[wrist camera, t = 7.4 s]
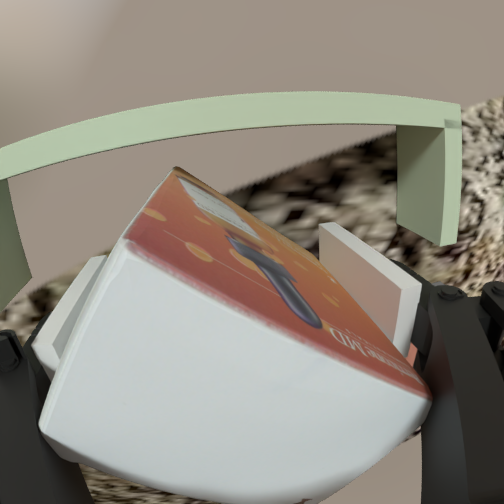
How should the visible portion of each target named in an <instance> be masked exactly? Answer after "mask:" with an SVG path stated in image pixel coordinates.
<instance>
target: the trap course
mask: <svg viewBox="0 0 504 504" xmlns="http://www.w3.org/2000/svg"><path fill="white" fill-rule="evenodd" d="M329 124H330V125H332V124H368V125H370V124H371V125H396V134H397V219H396V223H397V224H399V225H401V226H403V227H405V228H407V229H409V230H411V231H412V232H414V233H416V234H418V235H420V236H422V237H424V238H426V239H428V240H429V241H431V242H433V243H435V244H437V245H438V246H444V245H449V244H454V243H456V240H457V231H458V222H459V211H460V197H461V177H462V129H461V109H460V105H459V104H454V103H448V102H441V101H435V100H428V99H421V98H413V97H404V96H394V95H383V94H370V93H353V92H270V93H254V94H253V93H252V94H239V95H227V96H218V97H208V98H200V99H192V100H185V101H178V102H171V103H165V104H160V105H154V106H148V107H143V108H138V109H133V110H128V111H123V112H118V113H114V114H110V115H106V116H101V117H97V118H93V119H89V120H85V121H82V122H78V123H74V124H71V125H67V126H64V127H61V128H58V129H54V130H51V131H48V132H45V133H41V134H38V135H36V136H33V137H30V138H27V139H24V140H21V141H18V142H16V143H13V144H11V145H8V146H5V147H2V148H0V313H1V311H2V310H3V309H4V308H5V307H6V306H7V305H8V303H9V302H10V301H11V300H12V299H13V298H14V297H15V296H16V294H17V293H18V292H19V291H20V290H21V289H22V288H23V287H24V286H25V285H26V284H27V283H28V281H29V280H30V279H31V278H32V276H31V273H30V269H29V266H28V263H27V260H26V257H25V253H24V250H23V246H22V243H21V239H20V235H19V232H18V228H17V224H16V220H15V215H14V211H13V207H12V202H11V197H10V192H9V187H8V181H7V178H10V177H13V176H16V175H19V174H22V173H26V172H29V171H32V170H36V169H39V168H42V167H45V166H49V165H53V164H56V163H60V162H64V161H67V160H71V159H75V158H79V157H83V156H87V155H91V154H95V153H100V152H104V151H109V150H113V149H117V148H123V147H128V146H132V145H138V144H143V143H149V142H154V141H160V140H166V139H172V138H178V137H185V136H192V135H200V134H206V133H214V132H224V131H233V130H242V129H253V128H266V127H281V126H297V125H298V126H299V125H329ZM432 285H434V286H438V285H444V284H443V283H441V282H436V283H433V284H432ZM416 353H417V348H416V347H415V346H414V345H413V344H412V343H411V344H410V349H409V353H408V357H406V358H405V359H406V360H407V361H408V362H409V363H410V365H411V366H412V367H413V364H414V360H415V356H416Z"/></svg>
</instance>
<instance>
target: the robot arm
mask: <svg viewBox="0 0 504 504" xmlns="http://www.w3.org/2000/svg"><path fill="white" fill-rule="evenodd" d="M106 261H107V257H106V255H104V256H98V257H92V258H90V260H89V261H88V262H87V264H86V265H85V266H84V268H83V269H82V270H81V272H80V273H79V274H78V276H77V277H76V278H75V280H74V281H73V283H72V284H71V285H70V287H69V288H68V290H67V291H66V293H65V294H64V295H63V297H62V298H61V300H60V301H59V303H58V304H57V306H56V307H55V309H54V310H53V312H49V313H48V314H47V315H46V316H44V317H43V318H42V319H41V320H40V322H39V323H38V325H37V326H36V329H34V331H33V332H32V334H31V336H30V337H29V338H28V340H27V341H26V343H25V345H24V346H23V348H22V346H21V344H20V342H19V340H18V338H17V336H16V334H15V332H14V331H12V330H2V331H0V504H95V503H94V501H93V499H92V496H91V494H90V492H89V489H88V487H87V485H86V482H85V480H84V477H83V475H82V472H81V470H80V467H79V464H78V463H77V462H70V461H67V460H65V459H63V458H61V457H59V455H58V454H57V453H56V452H55V451H54V450H53V448H52V447H51V446H50V445H49V444H48V442H47V441H46V440H45V439H44V438H43V436H42V435H41V433H40V430H39V427H38V423H39V420H40V416H41V413H42V410H43V406H44V403H45V400H46V398H47V395H48V392H49V389H50V386H51V383H52V381H53V378H54V375H55V373H56V370H57V367H58V365H59V362H60V360H61V357H62V354H63V352H64V349H65V347H66V345H67V342H68V340H69V337H70V335H71V333H72V330H73V328H74V326H75V323H76V321H77V319H78V317H79V315H80V313H81V310H82V308H83V306H84V304H85V302H86V300H87V298H88V296H89V294H90V292H91V290H92V288H93V286H94V284H95V282H96V280H97V278H98V276H99V274H100V272H101V270H102V268H103V266H104V265H105V263H106ZM319 262H320V263H321V264H322V265H323V266H324V267H325V268H326V269H327V270H328V271H329V272H330V273H331V274H332V276H333V277H334V278H335V279H336V280H337V281H338V282H339V283H340V284H341V285H342V286H343V288H344V289H345V290H346V291H347V292H348V293H349V294H350V295H351V297H352V298H353V299H354V300H355V301H356V302H357V303H358V304H359V305H360V307H361V308H362V309H363V310H364V311H365V312H366V313H367V314H368V316H369V317H370V318H371V319H372V320H373V322H374V323H375V324H376V325H377V326H378V327H379V328H380V329H381V331H382V332H383V333H384V334H385V335H386V336H387V338H388V339H389V340H390V341H391V342H392V343H393V345H394V346H395V347H396V348H397V349H398V351H399V352H400V353H401V354H402V355H403V356H404V358H406V357H408V353H409V349H410V344H411V343H412V344H413V345H414V346H415V347H416V348H417V353H416V356H415V360H414V364H413V368H414V370H415V371H416V372H417V373H418V374H419V375H420V377H421V378H422V379H423V380H424V381H425V383H426V384H427V385H428V387H429V389H430V391H431V394H432V397H433V400H432V405H431V407H430V410H429V412H428V415H427V417H426V419H425V421H424V423H423V424H422V425H421V440H422V492H421V504H504V348H503V347H502V346H501V345H500V344H501V341H502V339H503V336H504V283H503V282H499V281H495V282H488V283H485V284H484V285H483V290H482V294H481V296H477V297H468V296H467V295H466V293H465V292H464V291H462V290H461V289H459V288H457V287H454V286H449V285H438V286H434V285H432V284H431V283H430V282H428V281H427V280H425V279H424V278H423V277H421V276H420V275H417V273H416V272H414V271H413V270H410V268H409V267H407V266H406V265H404V264H403V263H401V262H398V261H395V260H392V259H389V260H388V259H387V258H386V257H384V256H383V255H381V254H380V253H379V252H377V251H376V250H374V249H373V248H371V247H370V246H369V245H367V244H366V243H364V242H363V241H361V240H360V239H358V238H357V237H356V236H354V235H353V234H351V233H350V232H348V231H347V230H345V229H344V228H342V227H341V226H339V225H338V224H336V223H335V222H331V223H323V224H319Z"/></svg>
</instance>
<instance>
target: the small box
mask: <svg viewBox="0 0 504 504" xmlns="http://www.w3.org/2000/svg"><path fill="white" fill-rule="evenodd" d="M432 400H433V397H432V394H431V391H430V389H429V387H428V385H427V384H426V383H425V381H424V380H423V379H422V378H421V377H420V375H419V374H418V373H417V372H416V371H415V370H414V368H413V367H412V366H411V365H410V363H409V362H408V361H407V360H406V359H405V358H404V356H403V355H402V354H401V353H400V352H399V351H398V349H397V348H396V347H395V346H394V345H393V343H392V342H391V341H390V340H389V339H388V338H387V336H386V335H385V334H384V333H383V332H382V331H381V329H380V328H379V327H378V326H377V325H376V324H375V323H374V322H373V320H372V319H371V318H370V317H369V316H368V314H367V313H366V312H365V311H364V310H363V309H362V308H361V307H360V305H359V304H358V303H357V302H356V301H355V300H354V299H353V298H352V297H351V295H350V294H349V293H348V292H347V291H346V290H345V289H344V288H343V286H342V285H341V284H340V283H339V282H338V281H337V280H336V279H335V278H334V277H333V276H332V274H331V273H330V272H329V271H328V270H327V269H326V268H325V267H324V266H323V265H322V264H321V263H320V262H319V260H318V259H317V258H316V257H315V256H314V255H313V254H311V253H310V252H308V251H307V250H305V249H304V248H302V247H301V246H299V245H297V244H296V243H294V242H292V241H291V240H289V239H288V238H286V237H285V236H283V235H281V234H280V233H278V232H277V231H275V230H274V229H272V228H271V227H269V226H268V225H266V224H265V223H263V222H262V221H260V220H259V219H257V218H256V217H255V216H253V215H252V214H250V213H249V212H247V211H246V210H244V209H243V208H241V207H240V206H238V205H237V204H235V203H234V202H232V201H231V200H229V199H228V198H226V197H225V196H223V195H222V194H220V193H219V192H217V191H216V190H214V189H212V188H211V187H209V186H208V185H206V184H205V183H203V182H202V181H200V180H199V179H197V178H195V177H194V176H192V175H191V174H189V173H188V172H186V171H185V170H183V169H181V168H180V167H174V168H173V169H172V170H171V171H170V172H169V173H168V174H167V176H166V177H165V178H164V180H163V181H162V182H161V183H160V184H159V185H158V186H157V187H156V188H155V190H154V191H153V192H152V194H151V195H150V197H149V198H148V200H147V201H146V202H145V204H144V205H143V206H142V208H141V209H140V210H139V212H138V213H137V214H136V215H135V217H134V218H133V220H132V221H131V222H130V223H129V225H128V226H127V228H126V229H125V231H124V232H123V233H122V235H121V236H120V238H119V240H118V241H117V243H116V245H115V246H114V248H113V250H112V252H111V253H110V255H109V257H108V259H107V261H106V263H105V265H104V266H103V268H102V270H101V272H100V274H99V276H98V278H97V280H96V282H95V284H94V286H93V288H92V290H91V292H90V294H89V296H88V298H87V300H86V302H85V304H84V306H83V308H82V310H81V313H80V315H79V317H78V319H77V321H76V323H75V326H74V328H73V330H72V333H71V335H70V337H69V340H68V342H67V345H66V347H65V349H64V352H63V354H62V357H61V360H60V362H59V365H58V367H57V370H56V373H55V375H54V378H53V381H52V383H51V386H50V389H49V392H48V395H47V398H46V400H45V403H44V406H43V410H42V413H41V416H40V420H39V423H38V427H39V430H40V433H41V435H42V436H43V438H44V439H45V440H46V441H47V442H48V444H49V445H50V446H51V447H52V448H53V450H54V451H55V452H56V453H57V454H58V455H59V457H61V458H63V459H65V460H67V461H70V462H77V463H81V464H84V465H86V466H89V467H91V468H94V469H97V470H100V471H102V472H105V473H107V474H110V475H113V476H116V477H119V478H121V479H124V480H128V481H131V482H134V483H137V484H141V485H144V486H147V487H151V488H154V489H158V490H162V491H166V492H169V493H174V494H178V495H182V496H187V497H191V498H196V499H202V500H207V501H212V502H218V503H224V504H318V503H319V502H321V501H323V500H325V499H326V498H328V497H329V496H331V495H332V494H334V493H336V492H337V491H338V490H340V489H342V488H343V487H345V486H346V485H347V484H348V483H350V482H351V481H353V480H354V479H355V478H357V477H359V476H360V475H361V474H363V473H364V472H366V471H367V470H368V469H369V468H371V467H372V466H373V465H375V464H376V463H377V462H378V461H379V460H381V459H382V458H383V457H385V456H386V455H387V454H388V453H389V452H391V451H392V450H393V449H394V448H396V447H397V446H398V445H399V444H400V443H402V442H403V441H404V440H405V439H406V438H407V437H408V436H410V435H411V434H412V433H413V432H414V431H415V430H416V429H417V428H418V427H419V426H421V425H422V424H423V423H424V421H425V419H426V417H427V415H428V412H429V410H430V407H431V405H432Z"/></svg>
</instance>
